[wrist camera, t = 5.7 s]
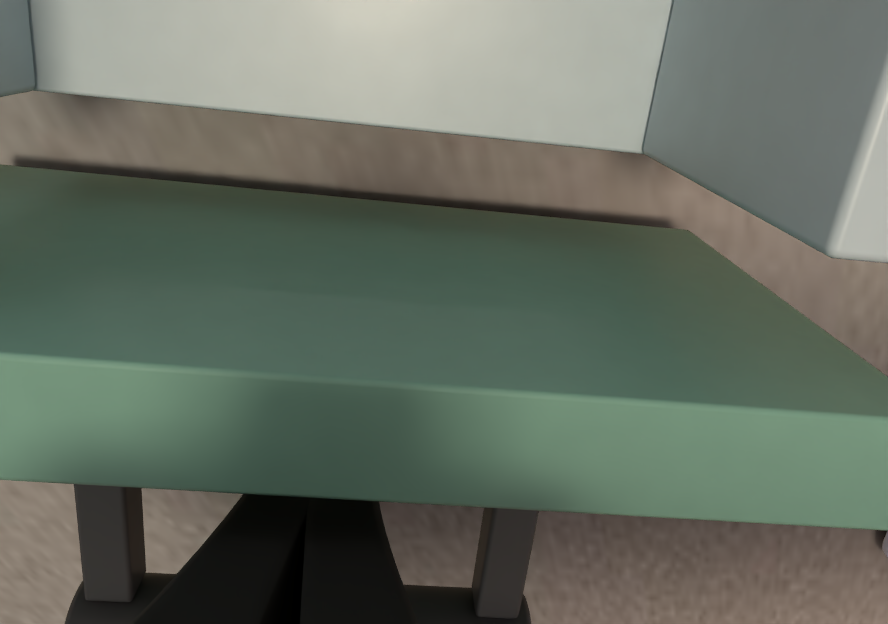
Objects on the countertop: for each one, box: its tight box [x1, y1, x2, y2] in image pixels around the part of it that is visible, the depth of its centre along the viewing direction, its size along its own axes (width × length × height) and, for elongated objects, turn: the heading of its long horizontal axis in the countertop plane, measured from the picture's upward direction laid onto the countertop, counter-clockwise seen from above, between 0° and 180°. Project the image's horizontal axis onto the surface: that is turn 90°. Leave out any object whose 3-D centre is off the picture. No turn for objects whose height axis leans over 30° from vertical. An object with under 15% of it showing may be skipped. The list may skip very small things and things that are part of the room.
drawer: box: [0, 0, 888, 624], centre depth 8 cm, size 17×11×6 cm, turn 174°
